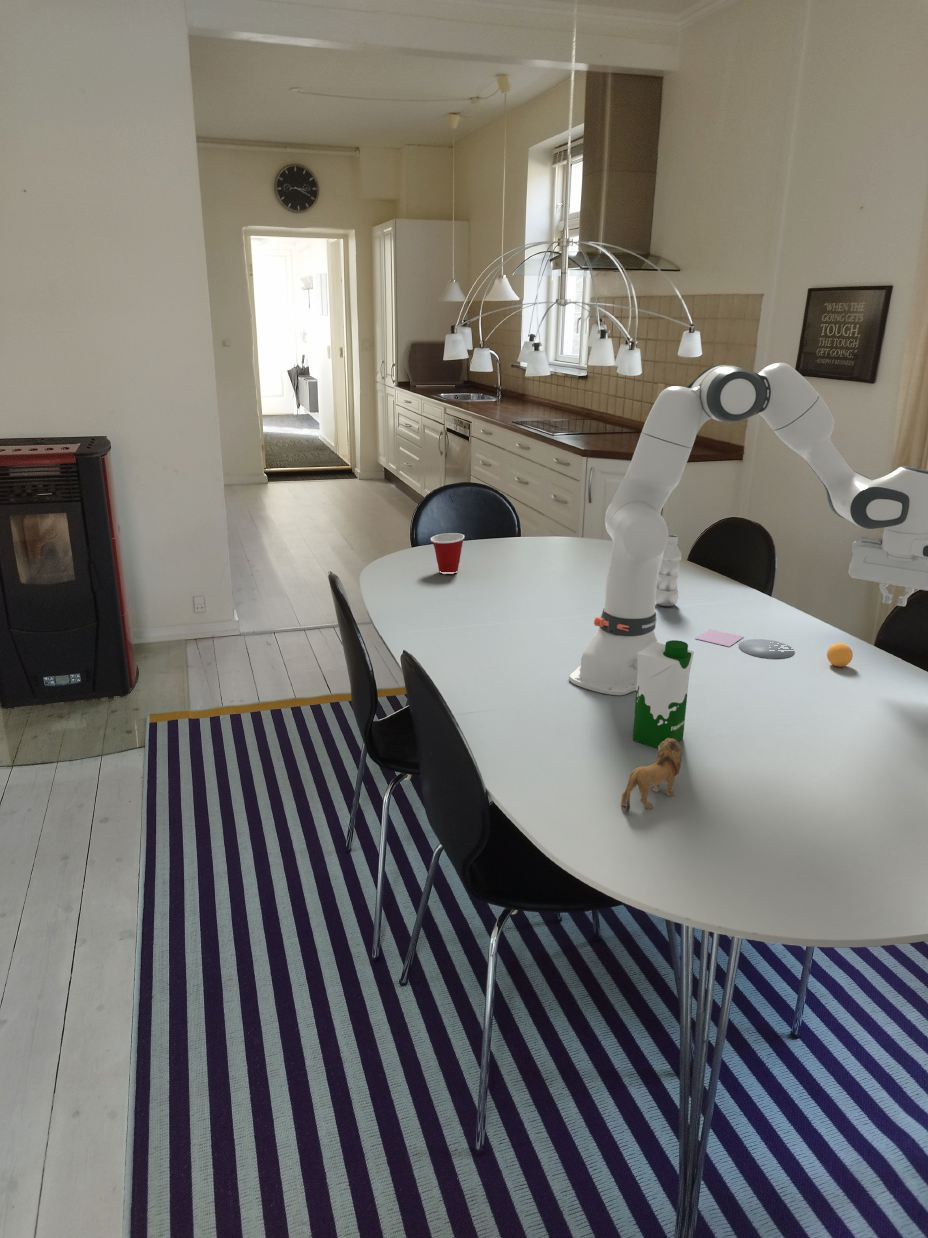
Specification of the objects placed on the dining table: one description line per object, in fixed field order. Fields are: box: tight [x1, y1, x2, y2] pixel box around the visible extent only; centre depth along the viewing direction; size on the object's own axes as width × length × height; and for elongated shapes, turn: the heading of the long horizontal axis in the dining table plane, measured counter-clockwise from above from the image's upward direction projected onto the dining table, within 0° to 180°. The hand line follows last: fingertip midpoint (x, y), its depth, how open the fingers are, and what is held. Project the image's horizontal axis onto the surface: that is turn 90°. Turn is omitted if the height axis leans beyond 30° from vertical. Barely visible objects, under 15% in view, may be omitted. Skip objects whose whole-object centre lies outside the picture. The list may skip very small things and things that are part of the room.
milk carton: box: [632, 639, 695, 749], centre depth 160 cm, size 9×9×20 cm
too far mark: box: [694, 628, 744, 648], centre depth 216 cm, size 9×9×1 cm
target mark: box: [738, 638, 795, 660], centre depth 209 cm, size 13×13×1 cm
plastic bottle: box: [655, 534, 682, 607], centre depth 238 cm, size 6×7×20 cm
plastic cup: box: [430, 532, 465, 572], centre depth 271 cm, size 11×11×12 cm
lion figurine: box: [620, 738, 683, 814], centre depth 141 cm, size 15×5×9 cm, turn 138°
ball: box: [826, 642, 854, 668], centre depth 198 cm, size 6×6×6 cm
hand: (894, 604), depth 188 cm, fingers closed
